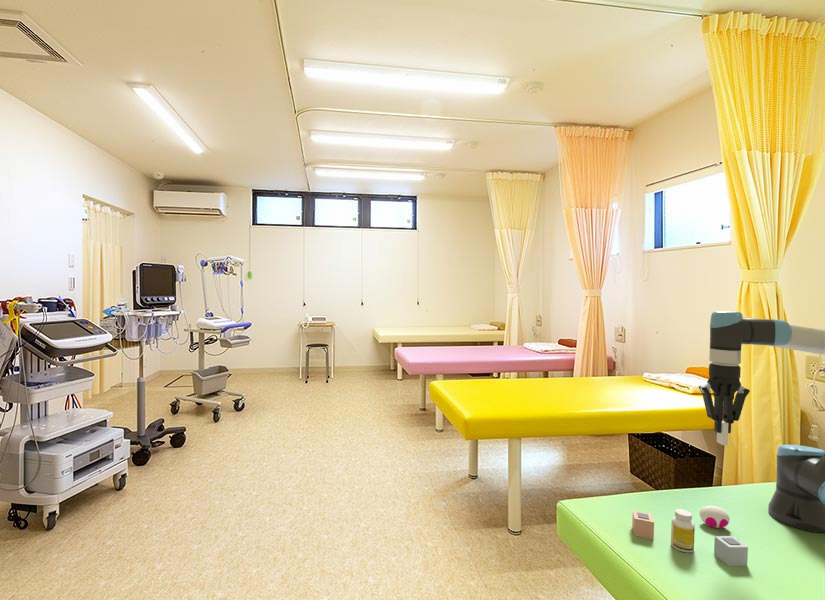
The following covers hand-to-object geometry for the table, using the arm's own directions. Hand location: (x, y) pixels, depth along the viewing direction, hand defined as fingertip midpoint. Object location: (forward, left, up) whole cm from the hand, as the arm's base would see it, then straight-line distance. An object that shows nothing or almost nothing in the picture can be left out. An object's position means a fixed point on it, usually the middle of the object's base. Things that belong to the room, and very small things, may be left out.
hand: (722, 443), depth 126 cm
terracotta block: (+23, +4, -27) cm, 35 cm away
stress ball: (0, -3, -27) cm, 27 cm away
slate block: (+5, +14, -27) cm, 30 cm away
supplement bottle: (+15, +10, -27) cm, 32 cm away
